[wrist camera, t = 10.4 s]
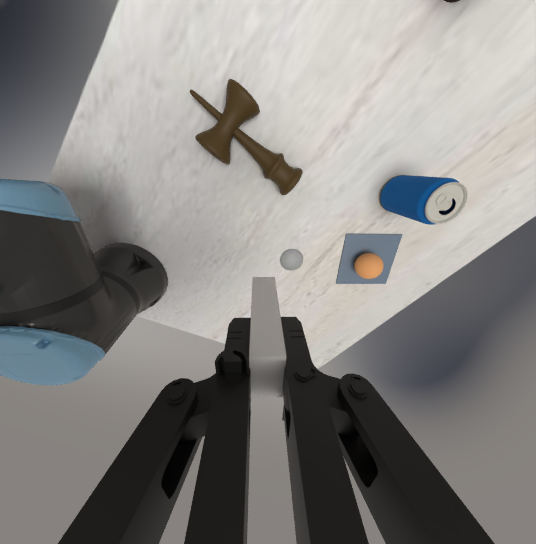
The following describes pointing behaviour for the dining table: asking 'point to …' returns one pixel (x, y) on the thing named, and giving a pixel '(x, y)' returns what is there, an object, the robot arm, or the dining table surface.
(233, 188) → the dining table surface
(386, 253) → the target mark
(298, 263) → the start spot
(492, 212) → the dining table surface
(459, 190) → the beverage can
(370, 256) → the ball
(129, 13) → the dining table surface
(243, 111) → the kendama
